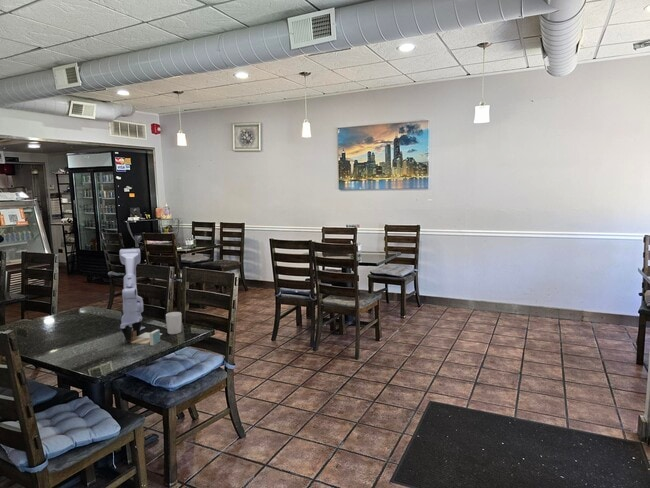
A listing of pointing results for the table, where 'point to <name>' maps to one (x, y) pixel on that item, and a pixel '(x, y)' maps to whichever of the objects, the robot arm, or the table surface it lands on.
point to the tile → (154, 337)
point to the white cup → (174, 322)
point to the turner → (139, 340)
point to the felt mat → (145, 335)
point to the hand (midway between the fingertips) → (132, 338)
